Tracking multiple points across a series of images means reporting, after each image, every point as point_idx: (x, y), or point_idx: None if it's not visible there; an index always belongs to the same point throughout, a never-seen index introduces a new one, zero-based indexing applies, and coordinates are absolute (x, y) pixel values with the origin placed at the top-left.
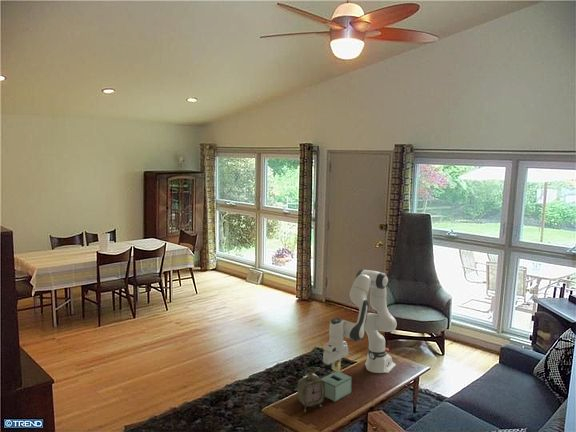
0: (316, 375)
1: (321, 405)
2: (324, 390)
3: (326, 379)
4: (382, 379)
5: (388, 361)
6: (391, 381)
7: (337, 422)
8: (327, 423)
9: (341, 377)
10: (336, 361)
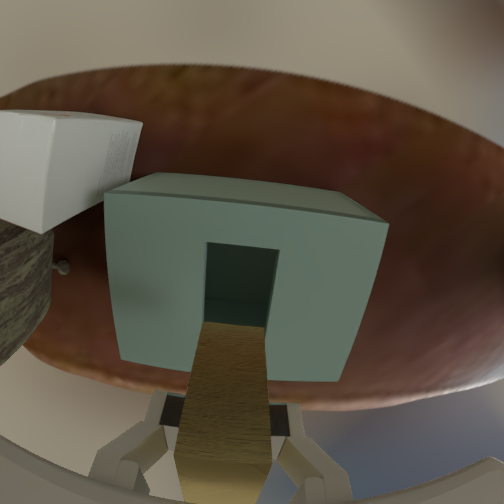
0: (42, 186)
1: (62, 274)
2: (21, 339)
3: (145, 248)
4: (481, 336)
5: None
6: (472, 364)
7: (65, 367)
8: (36, 342)
9: (283, 335)
10: (201, 497)
